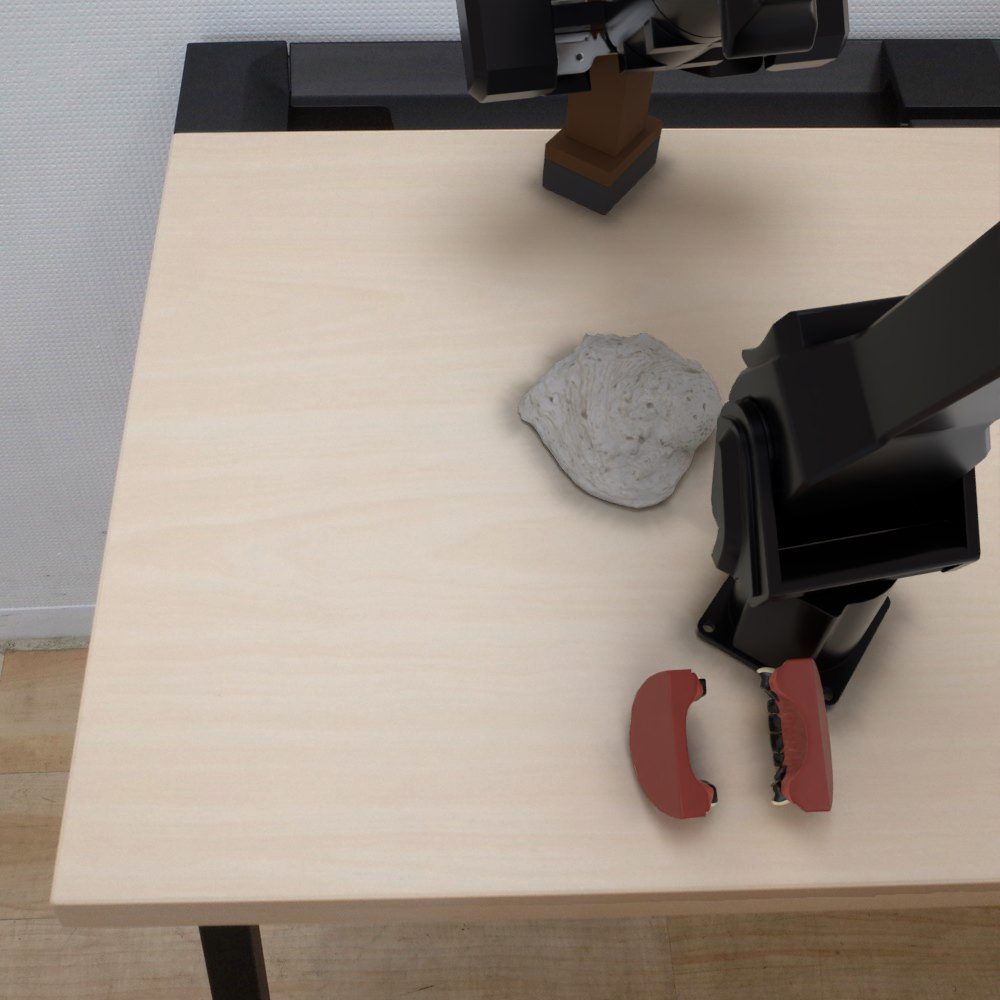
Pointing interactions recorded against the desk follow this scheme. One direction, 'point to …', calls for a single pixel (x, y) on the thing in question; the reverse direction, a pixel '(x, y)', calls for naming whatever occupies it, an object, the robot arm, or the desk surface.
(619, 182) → the stamp
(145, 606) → the desk surface
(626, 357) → the stone
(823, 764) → the false teeth
